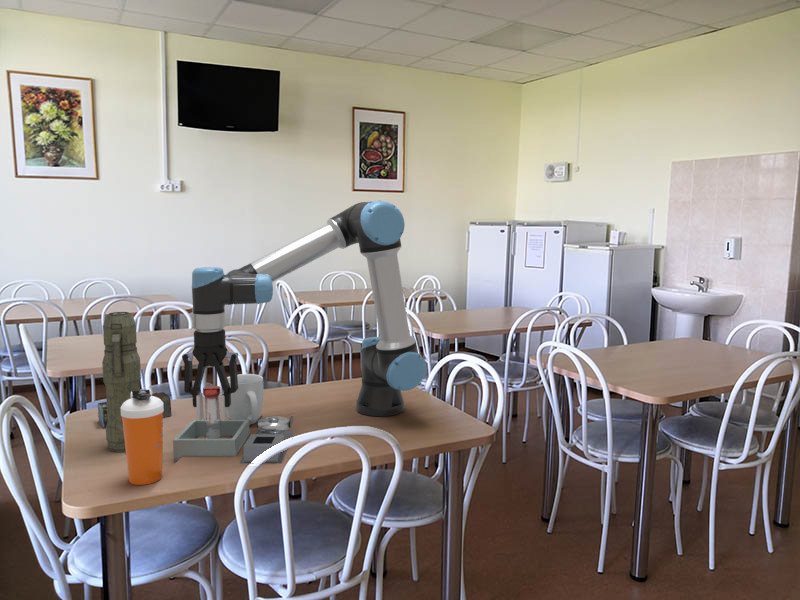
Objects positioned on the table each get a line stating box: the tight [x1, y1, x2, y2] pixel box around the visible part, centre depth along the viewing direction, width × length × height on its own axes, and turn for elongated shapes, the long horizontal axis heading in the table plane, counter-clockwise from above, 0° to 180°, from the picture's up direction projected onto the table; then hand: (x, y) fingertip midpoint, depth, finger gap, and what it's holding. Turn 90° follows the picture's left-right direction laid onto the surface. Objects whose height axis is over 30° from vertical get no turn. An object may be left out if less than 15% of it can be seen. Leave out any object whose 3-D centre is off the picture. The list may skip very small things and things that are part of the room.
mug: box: [227, 373, 264, 426], centre depth 172 cm, size 15×11×13 cm
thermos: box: [101, 311, 142, 453], centre depth 153 cm, size 9×12×35 cm
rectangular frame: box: [172, 419, 250, 463], centre depth 153 cm, size 15×15×6 cm
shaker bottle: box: [121, 389, 164, 486], centre depth 135 cm, size 9×9×20 cm
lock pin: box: [202, 385, 222, 439], centre depth 152 cm, size 4×4×16 cm
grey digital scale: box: [239, 415, 296, 464], centre depth 152 cm, size 22×10×7 cm, turn 1°
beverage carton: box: [97, 391, 172, 429], centre depth 176 cm, size 8×19×7 cm, turn 127°
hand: (212, 418), depth 152 cm, fingers open, 5 cm apart
